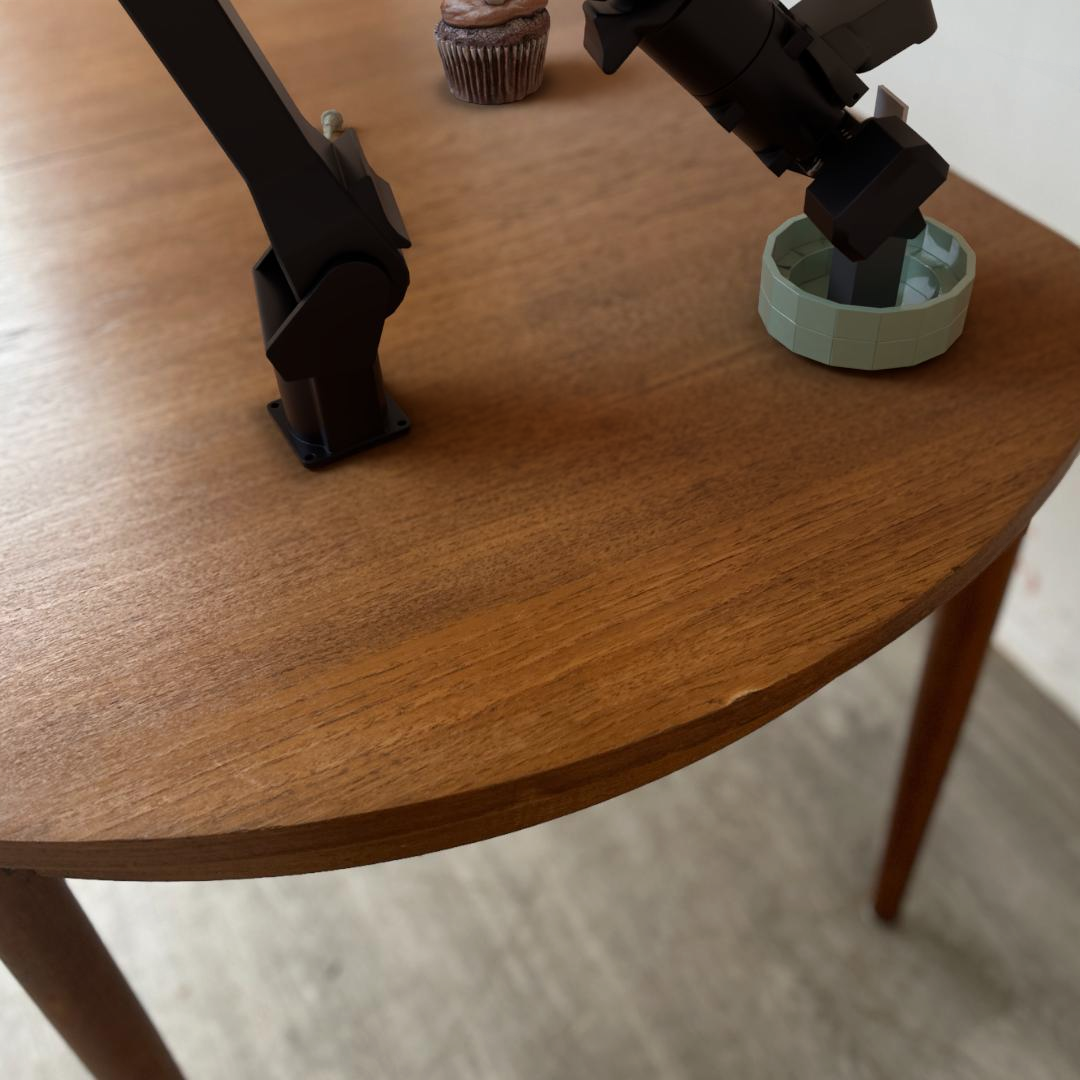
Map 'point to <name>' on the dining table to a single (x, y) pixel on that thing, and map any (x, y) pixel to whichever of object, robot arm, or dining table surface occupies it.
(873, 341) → the bowl
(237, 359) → the dining table surface
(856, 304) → the scraper
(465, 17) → the cupcake
